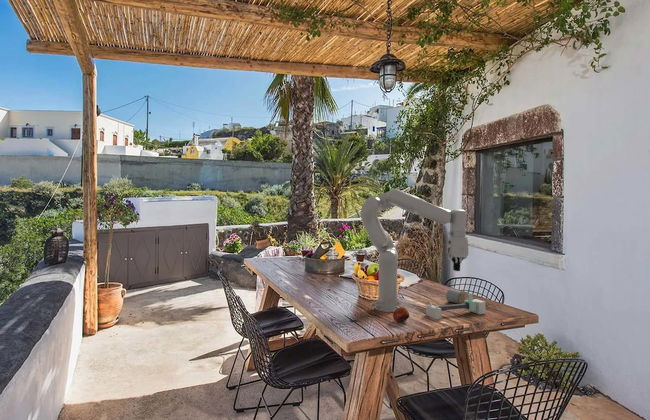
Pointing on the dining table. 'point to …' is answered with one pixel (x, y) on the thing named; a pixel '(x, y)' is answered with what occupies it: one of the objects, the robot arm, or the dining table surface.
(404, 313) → the pomegranate
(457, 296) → the ceramic mug
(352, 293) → the dining table surface
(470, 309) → the sleeve
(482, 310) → the rail
